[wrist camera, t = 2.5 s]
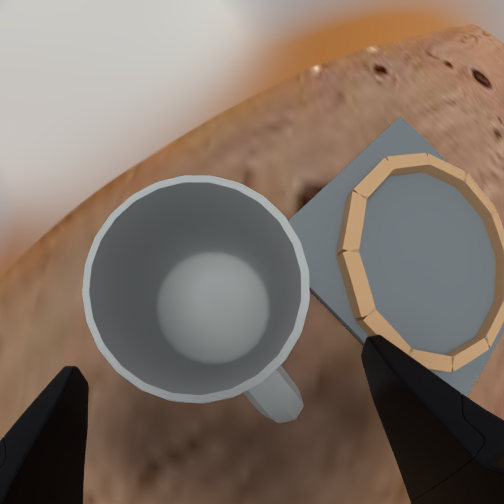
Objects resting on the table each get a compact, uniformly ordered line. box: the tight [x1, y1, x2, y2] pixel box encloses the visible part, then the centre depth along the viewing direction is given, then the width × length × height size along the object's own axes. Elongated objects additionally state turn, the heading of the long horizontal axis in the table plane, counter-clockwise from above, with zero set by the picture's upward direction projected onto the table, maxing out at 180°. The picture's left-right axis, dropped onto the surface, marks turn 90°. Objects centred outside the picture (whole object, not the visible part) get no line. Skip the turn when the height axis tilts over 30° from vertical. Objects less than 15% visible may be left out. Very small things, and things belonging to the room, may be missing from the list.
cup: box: [82, 176, 310, 424], centre depth 13 cm, size 7×10×9 cm
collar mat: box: [288, 117, 504, 396], centre depth 18 cm, size 18×16×2 cm
